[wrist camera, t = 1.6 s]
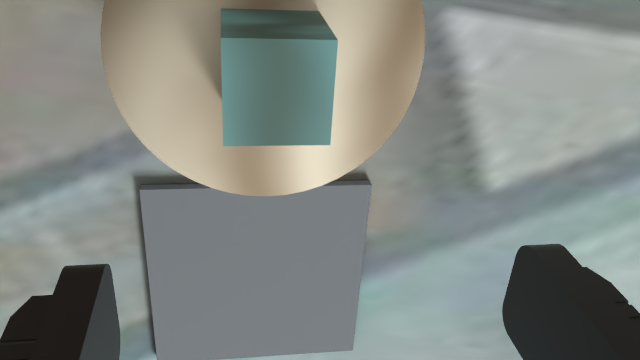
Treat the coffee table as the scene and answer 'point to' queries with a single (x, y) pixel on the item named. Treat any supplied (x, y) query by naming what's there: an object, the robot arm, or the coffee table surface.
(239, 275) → the mat
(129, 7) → the lid
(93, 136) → the coffee table surface
